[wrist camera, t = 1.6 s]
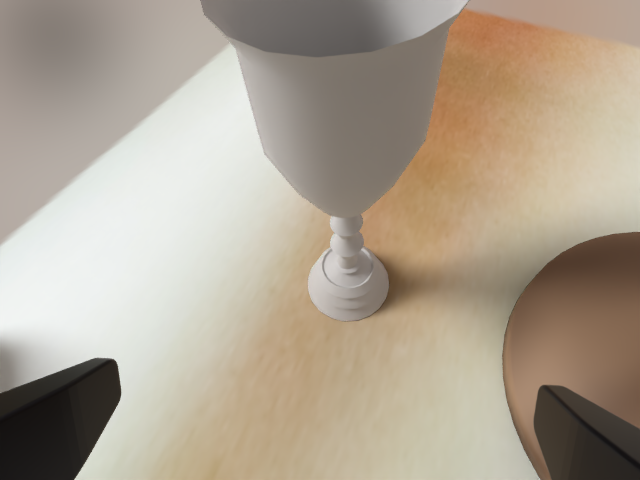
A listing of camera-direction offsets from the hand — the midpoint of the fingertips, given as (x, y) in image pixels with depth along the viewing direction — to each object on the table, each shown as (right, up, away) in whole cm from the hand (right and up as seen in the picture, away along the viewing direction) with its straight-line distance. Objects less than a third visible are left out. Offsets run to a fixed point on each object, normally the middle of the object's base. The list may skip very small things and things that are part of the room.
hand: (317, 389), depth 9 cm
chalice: (+2, 0, +17) cm, 17 cm away
